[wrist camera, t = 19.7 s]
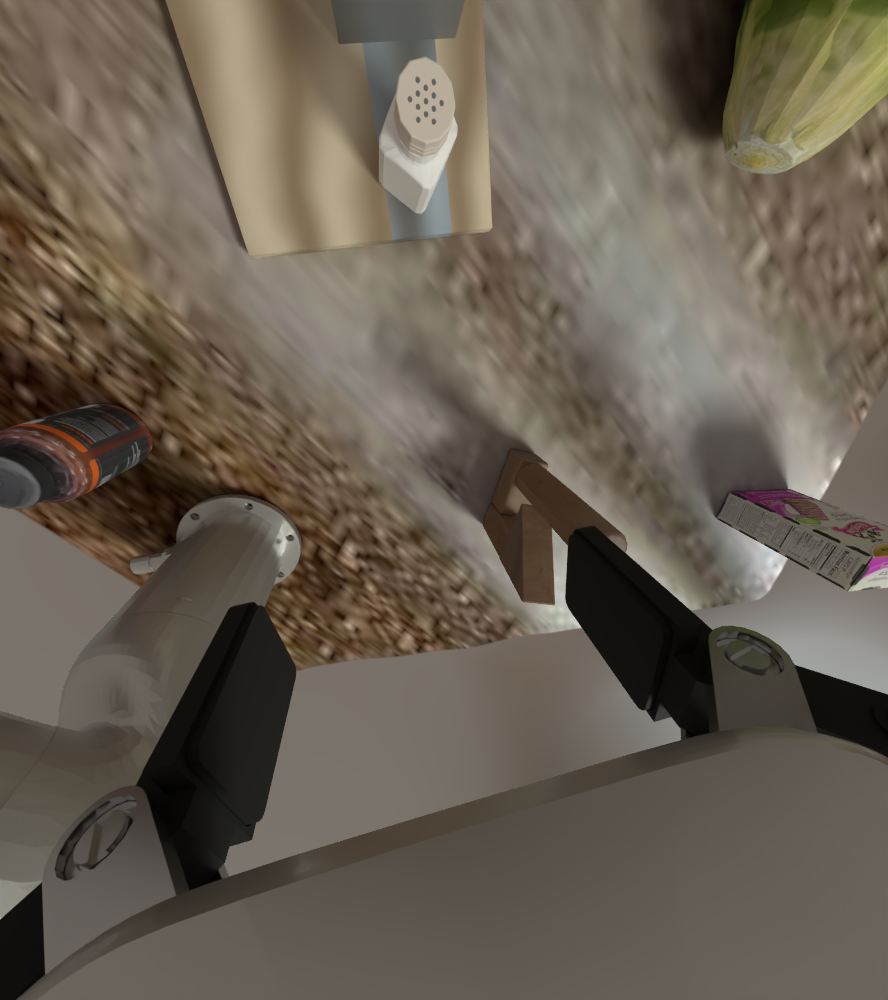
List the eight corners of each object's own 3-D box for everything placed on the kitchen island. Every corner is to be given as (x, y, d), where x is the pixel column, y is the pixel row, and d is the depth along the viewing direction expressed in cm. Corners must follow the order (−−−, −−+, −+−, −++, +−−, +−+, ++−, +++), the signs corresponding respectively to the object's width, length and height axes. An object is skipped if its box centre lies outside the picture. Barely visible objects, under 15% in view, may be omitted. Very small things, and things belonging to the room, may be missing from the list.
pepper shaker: (420, 220, 27) (439, 172, 19) (375, 184, 26) (374, 114, 17) (445, 165, 26) (477, 87, 18) (399, 124, 24) (410, 18, 16)
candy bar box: (790, 486, 50) (956, 549, 36) (774, 515, 52) (924, 586, 38) (727, 488, 48) (877, 557, 34) (713, 519, 50) (847, 595, 36)
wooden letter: (480, 524, 43) (539, 636, 28) (509, 447, 39) (598, 527, 23) (506, 528, 44) (576, 638, 29) (537, 453, 40) (639, 534, 24)
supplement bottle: (74, 393, 29) (-80, 426, 20) (154, 411, 31) (49, 449, 21) (84, 456, 32) (-50, 513, 22) (157, 469, 34) (64, 528, 24)
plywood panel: (254, 258, 27) (249, 256, 26) (109, -191, 18) (92, -224, 17) (488, 231, 29) (492, 228, 28) (468, -188, 20) (473, -217, 19)
